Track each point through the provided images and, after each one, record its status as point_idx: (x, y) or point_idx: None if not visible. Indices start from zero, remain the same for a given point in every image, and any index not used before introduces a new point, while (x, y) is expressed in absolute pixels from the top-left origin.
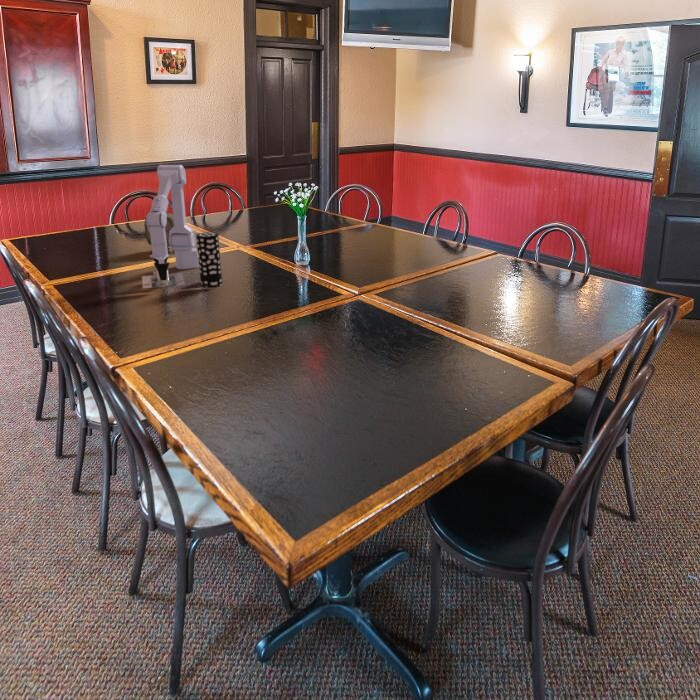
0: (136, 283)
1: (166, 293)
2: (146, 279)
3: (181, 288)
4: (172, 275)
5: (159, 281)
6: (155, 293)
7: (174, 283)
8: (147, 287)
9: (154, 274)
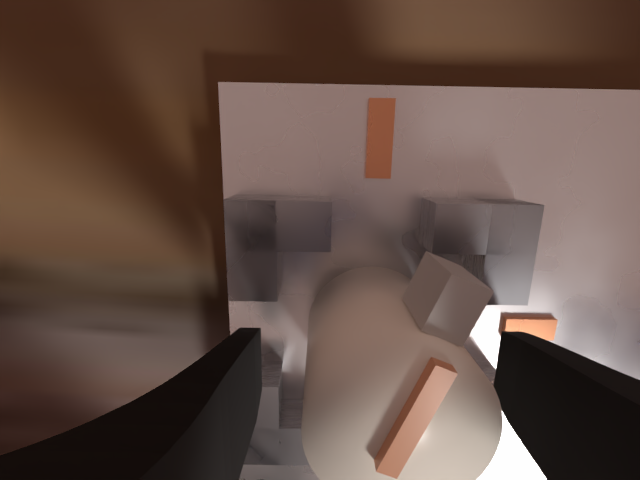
0: (587, 17)
1: (70, 315)
2: (614, 145)
3: None
4: (500, 448)
5: (328, 296)
6: (92, 214)
7: None
8: (237, 140)
9: (426, 277)
